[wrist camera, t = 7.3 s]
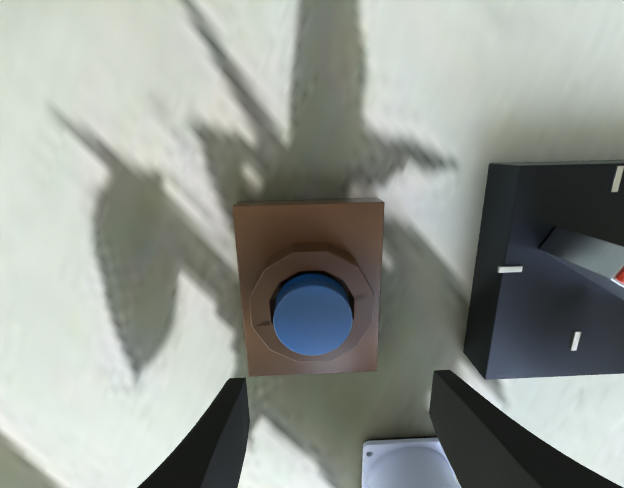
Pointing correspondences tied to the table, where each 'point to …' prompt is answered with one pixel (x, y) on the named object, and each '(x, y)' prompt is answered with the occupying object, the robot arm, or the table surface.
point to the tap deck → (545, 273)
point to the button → (312, 314)
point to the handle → (588, 258)
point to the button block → (304, 260)
